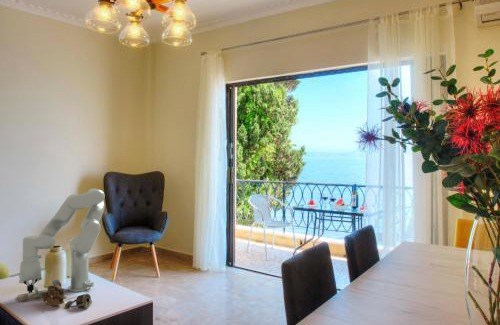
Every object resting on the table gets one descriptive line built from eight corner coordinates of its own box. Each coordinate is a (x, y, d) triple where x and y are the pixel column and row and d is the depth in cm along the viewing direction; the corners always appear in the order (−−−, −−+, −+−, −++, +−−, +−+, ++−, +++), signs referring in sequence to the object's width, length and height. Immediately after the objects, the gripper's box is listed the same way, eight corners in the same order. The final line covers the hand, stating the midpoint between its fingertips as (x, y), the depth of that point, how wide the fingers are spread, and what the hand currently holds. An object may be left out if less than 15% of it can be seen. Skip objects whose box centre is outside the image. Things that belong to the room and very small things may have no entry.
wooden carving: (38, 304, 187) (38, 285, 187) (45, 301, 191) (46, 282, 191) (61, 309, 181) (62, 289, 181) (69, 305, 185) (69, 286, 185)
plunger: (36, 297, 193) (36, 289, 193) (34, 292, 199) (34, 285, 199) (38, 296, 193) (38, 288, 193) (36, 292, 200) (36, 284, 200)
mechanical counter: (78, 302, 176) (95, 292, 184) (61, 296, 181) (77, 286, 190) (80, 315, 177) (96, 304, 186) (62, 308, 183) (79, 298, 191)
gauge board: (19, 302, 189) (19, 291, 189) (17, 297, 197) (17, 286, 197) (61, 294, 201) (61, 284, 201) (58, 289, 209) (58, 279, 209)
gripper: (45, 255, 204) (44, 287, 203) (14, 259, 195) (13, 293, 194) (47, 258, 198) (46, 291, 197) (14, 262, 189) (14, 297, 188)
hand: (30, 292), depth 196 cm, fingers closed
